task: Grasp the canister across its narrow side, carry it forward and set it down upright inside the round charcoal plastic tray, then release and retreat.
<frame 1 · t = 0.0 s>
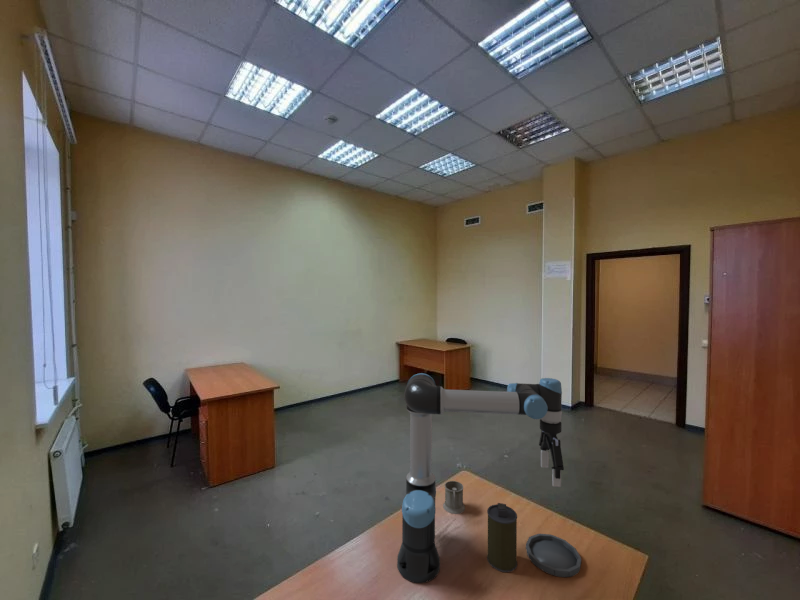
hand: (550, 476, 125), 28 cm above the table, fingers open, 13 cm apart
mug: (454, 510, 149), on the table
canister: (501, 560, 120), on the table
round tray: (552, 556, 122), on the table
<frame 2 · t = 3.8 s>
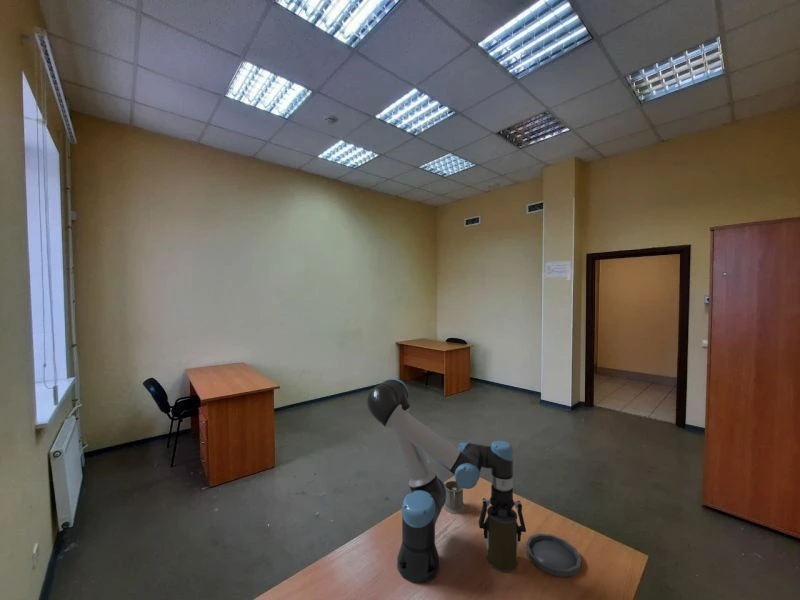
hand: (501, 547, 120), 4 cm above the table, fingers open, 9 cm apart
nothing on the table moved.
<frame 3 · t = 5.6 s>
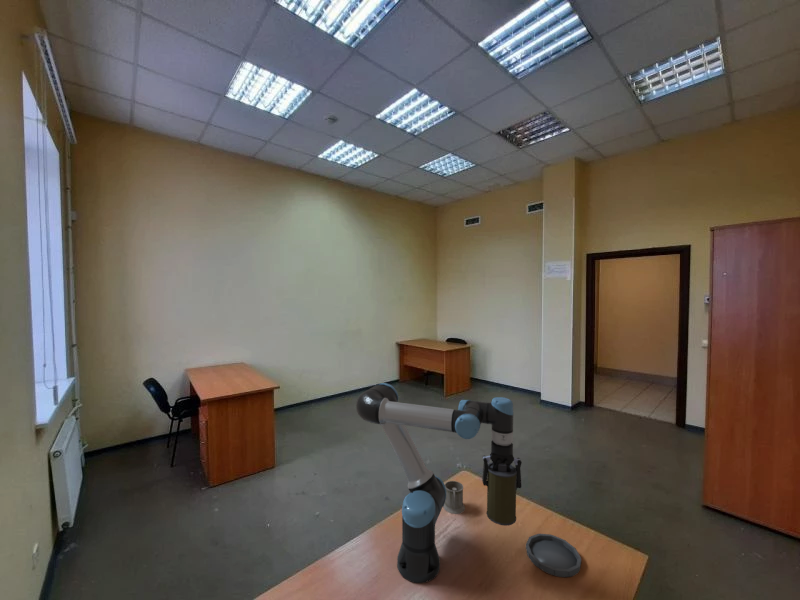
hand: (501, 504, 120), 20 cm above the table, fingers open, 6 cm apart
canister: (501, 516, 120), point 16 cm above the table, touching hand
everything else where it was.
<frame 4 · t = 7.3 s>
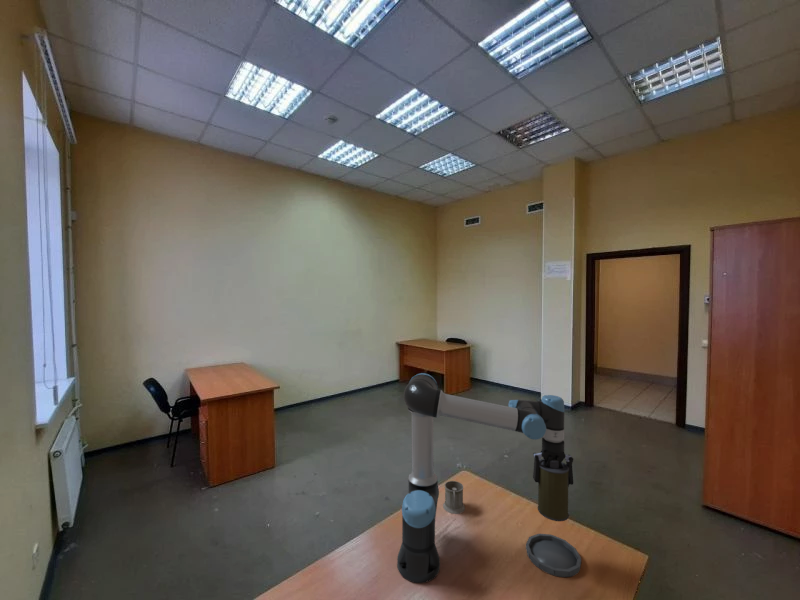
hand: (552, 501, 122), 21 cm above the table, fingers open, 6 cm apart
canister: (552, 512, 122), point 16 cm above the table, touching hand
everything else where it was.
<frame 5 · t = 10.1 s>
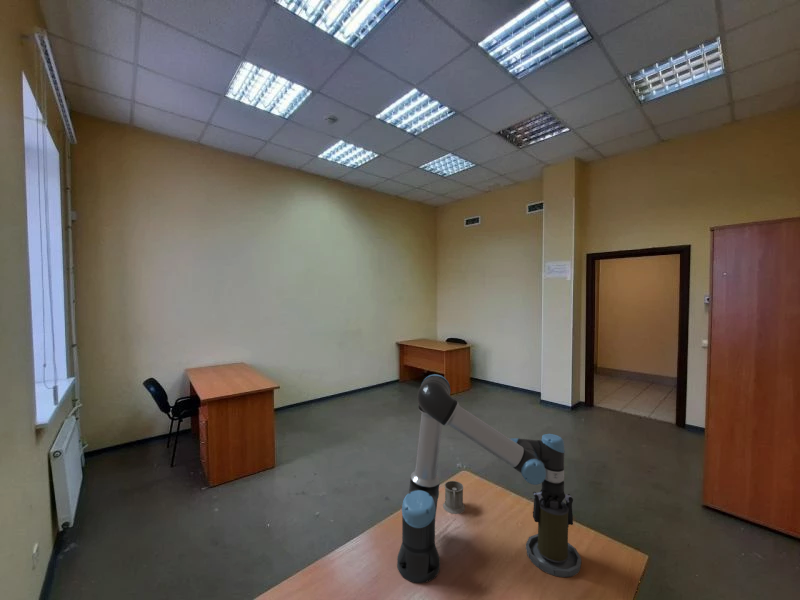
hand: (552, 540, 122), 6 cm above the table, fingers open, 6 cm apart
canister: (552, 552, 122), point 2 cm above the table, touching hand
everything else where it was.
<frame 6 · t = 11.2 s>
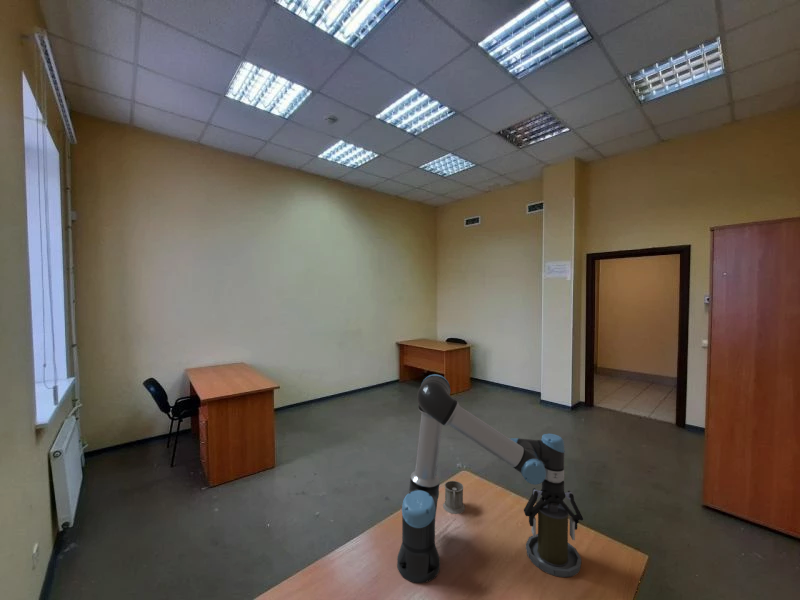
hand: (552, 535, 122), 8 cm above the table, fingers open, 13 cm apart
canister: (552, 555, 121), resting on round tray
everything else where it was.
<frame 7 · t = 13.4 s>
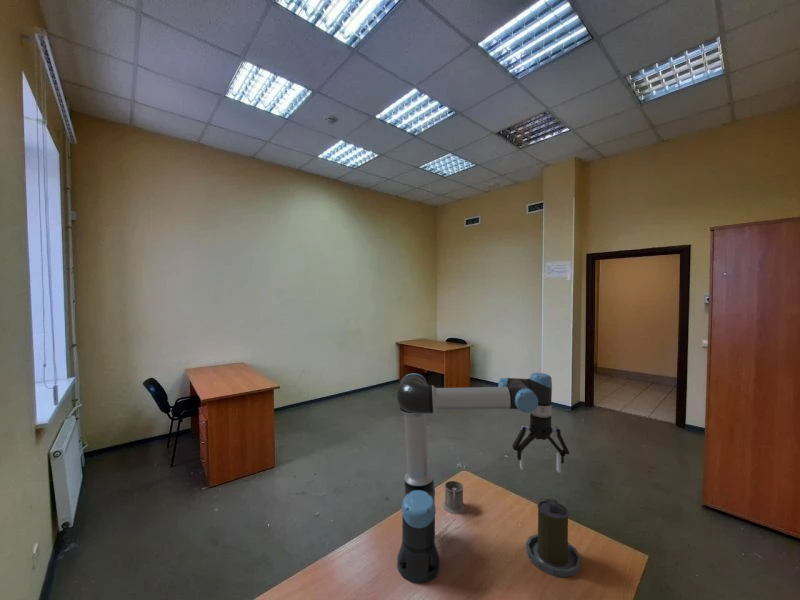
hand: (539, 469, 126), 30 cm above the table, fingers open, 13 cm apart
nothing on the table moved.
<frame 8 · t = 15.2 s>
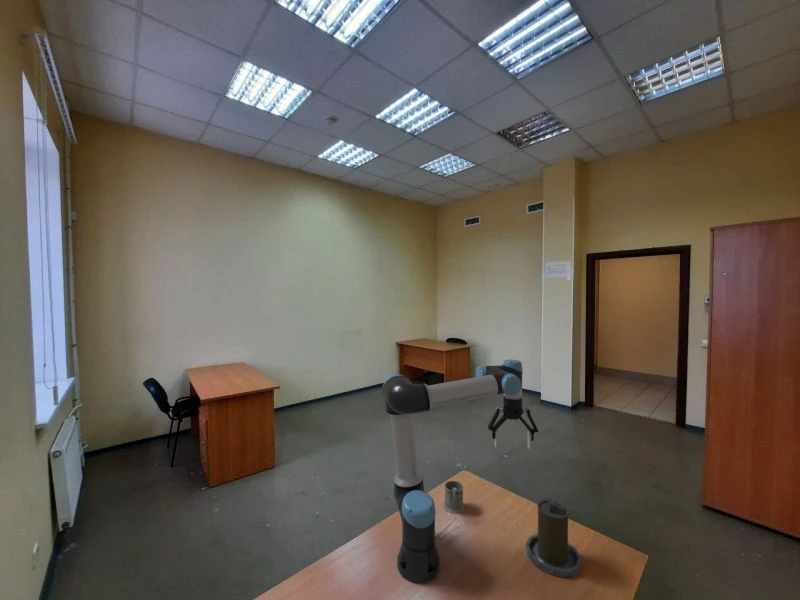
hand: (512, 447, 139), 33 cm above the table, fingers open, 13 cm apart
nothing on the table moved.
at the end: canister 0.2 cm from the round tray (horizontally); canister tilted 0°; canister resting on round tray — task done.
